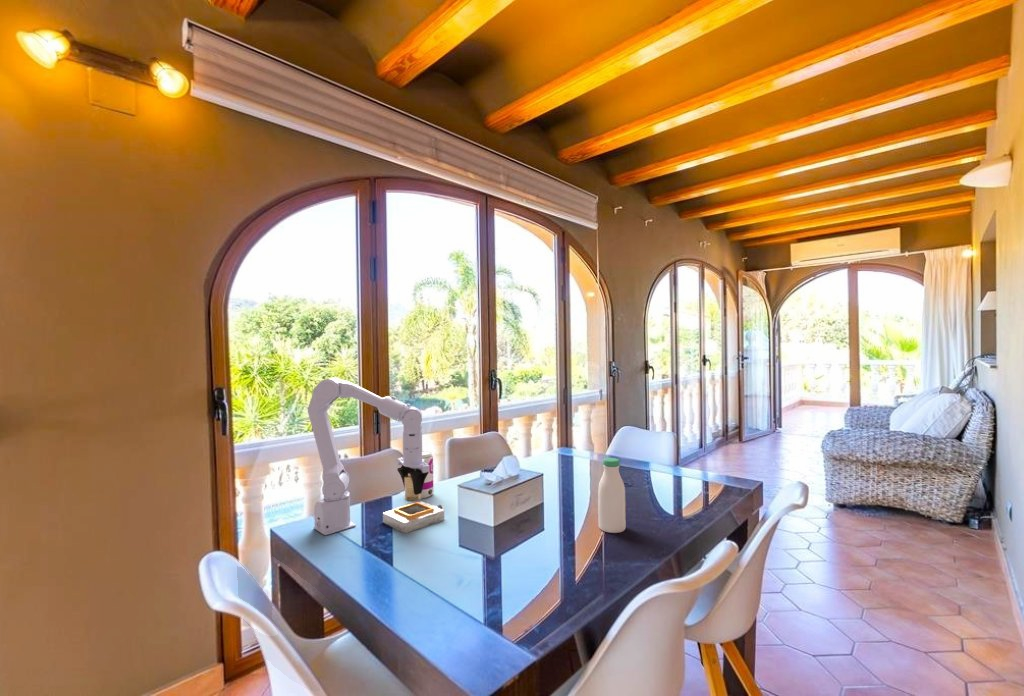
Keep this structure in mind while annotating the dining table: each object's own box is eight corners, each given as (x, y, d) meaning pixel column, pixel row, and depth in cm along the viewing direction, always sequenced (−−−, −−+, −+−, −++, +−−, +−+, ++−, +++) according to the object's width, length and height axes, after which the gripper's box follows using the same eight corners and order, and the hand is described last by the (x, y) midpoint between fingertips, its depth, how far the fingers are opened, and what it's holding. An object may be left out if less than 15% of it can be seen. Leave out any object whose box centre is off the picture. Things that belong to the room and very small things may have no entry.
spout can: (411, 502, 138) (409, 476, 138) (402, 499, 141) (401, 473, 141) (427, 496, 143) (426, 471, 142) (419, 493, 146) (418, 468, 145)
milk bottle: (626, 534, 130) (625, 463, 130) (598, 532, 131) (597, 462, 131) (625, 524, 137) (624, 456, 137) (598, 522, 139) (597, 455, 139)
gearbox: (404, 533, 132) (404, 520, 132) (382, 522, 141) (382, 510, 141) (452, 517, 144) (452, 505, 144) (429, 508, 153) (429, 496, 153)
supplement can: (436, 491, 170) (435, 450, 170) (429, 499, 162) (429, 456, 162) (414, 491, 171) (413, 450, 171) (407, 498, 162) (406, 455, 162)
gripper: (437, 448, 139) (438, 494, 139) (410, 442, 149) (411, 484, 149) (417, 452, 134) (418, 499, 134) (391, 445, 144) (391, 489, 144)
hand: (413, 492), depth 141 cm, fingers closed on spout can, 4 cm apart
